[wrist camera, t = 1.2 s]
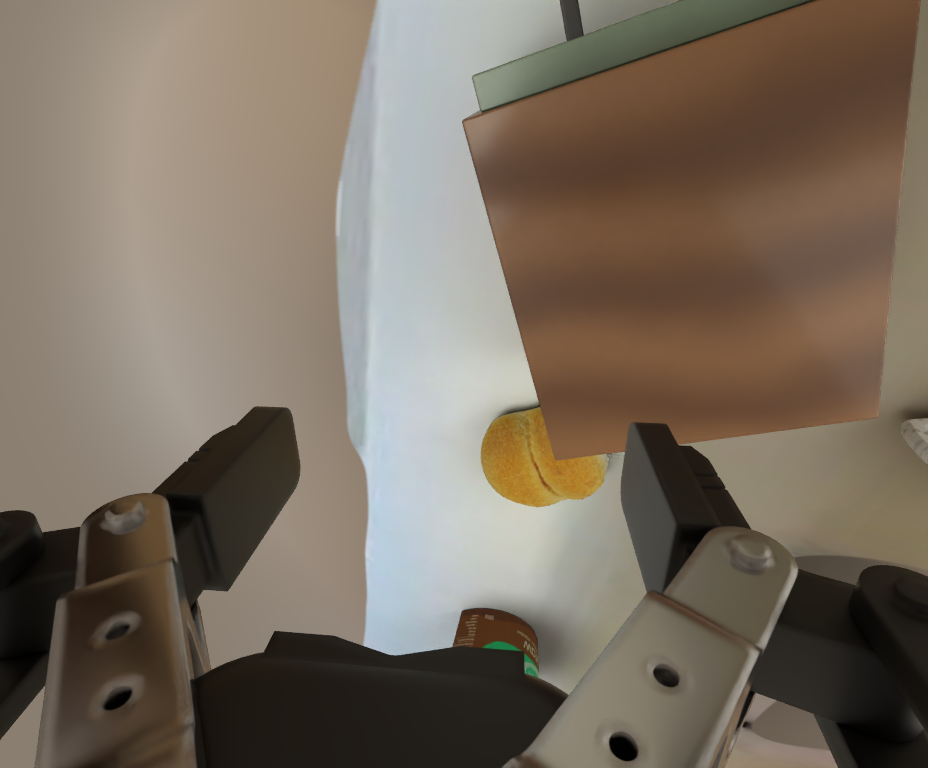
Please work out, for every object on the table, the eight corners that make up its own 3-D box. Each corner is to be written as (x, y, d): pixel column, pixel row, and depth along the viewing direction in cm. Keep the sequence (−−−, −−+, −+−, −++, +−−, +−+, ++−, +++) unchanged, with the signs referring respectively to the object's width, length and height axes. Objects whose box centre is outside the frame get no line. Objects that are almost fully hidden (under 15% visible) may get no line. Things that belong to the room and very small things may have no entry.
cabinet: (493, 102, 27) (461, 120, 18) (784, 2, 23) (926, -37, 14) (555, 358, 34) (554, 461, 25) (784, 314, 30) (879, 418, 21)
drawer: (462, -72, 23) (416, -137, 15) (774, -211, 19) (909, -383, 12) (557, 331, 32) (557, 411, 25) (778, 286, 29) (855, 363, 21)
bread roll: (467, 417, 38) (458, 452, 34) (588, 387, 35) (591, 421, 32) (505, 498, 41) (501, 537, 38) (618, 477, 39) (623, 516, 35)
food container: (573, 659, 51) (576, 775, 43) (520, 671, 54) (513, 783, 46) (506, 585, 47) (495, 698, 39) (453, 602, 50) (431, 711, 41)
